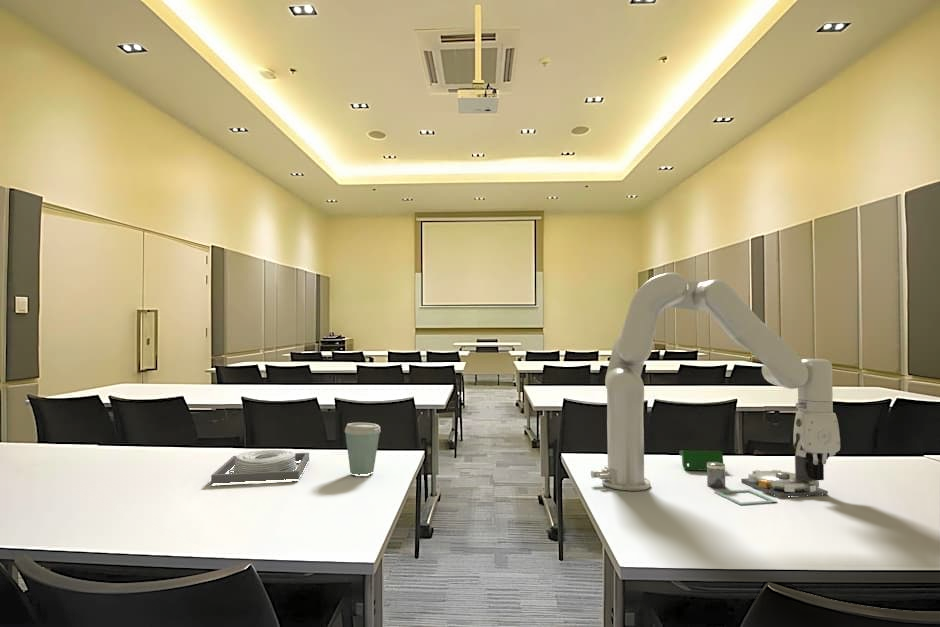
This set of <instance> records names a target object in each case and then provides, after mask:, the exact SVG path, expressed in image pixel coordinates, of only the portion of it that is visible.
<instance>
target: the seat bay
mask: <svg viewBox="0 0 940 627" xmlns="http://www.w3.org/2000/svg"><path fill="white" fill-rule="evenodd" d="M736 493H737V494H738V493H739V494H740V493H750V494H752V495H754V494H755V495H754V496H756V495H757V497H759V496H760V497H759V498H761V497H762V498H761V499H763V498H765V499H767V500H765V499H764V500H759V501H755V500H754V501H744V502H741V501H739V500H737V499H735V498H733V497H731V496H729V495H726V494H736ZM714 494H717V495H718V496H719V497H720V496H721V497H722V498H725V499H727V500H728V501H730V500H731V502H732V501H733V502H732V503H734V502H735V503H734V504H736V505H739V506H749V505H750V506H751V505H752V506H753V505H763V503H767V504H773V503H772V502H777V503H778V501H777V500H775V499H772V498H770V497H767V496H765V495H764V494H761V493H758V492H756V491H753V490H751V489H733V490H719V491H717V490H716V491H714ZM768 500H769V501H768Z"/></svg>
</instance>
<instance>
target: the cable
mask: <svg viewBox="0 0 940 627" xmlns="http://www.w3.org/2000/svg"><path fill="white" fill-rule="evenodd" d="M295 453H296V452H292V451H289V450H282V449H265V450H254V451H253V450H252V451H245V452H241V453H239V454H237V455H235V456H236V459H235V466H234V468H233V469H232V470H230V471H234V473H253V472H273V471H293V470H295V469H296V467H298V465H297V463H296V462H295ZM231 473H233V472H229V474H231Z"/></svg>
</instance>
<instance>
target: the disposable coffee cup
mask: <svg viewBox="0 0 940 627" xmlns="http://www.w3.org/2000/svg"><path fill="white" fill-rule="evenodd" d="M344 433H345V441H346V448H347V455H348V456H347V458H348V465H349V472H350V474H351V473H352V474H358V475H360V474H368V473H371V472H373V473H374V469H375V463H376V460H377V459H376V458H377V453H378V446H379V445H378V444H379V438H380V433H381V426H380V425H379V424H377V423H370V422H351V423H347V424H346V426H345V429H344Z"/></svg>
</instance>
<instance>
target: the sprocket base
mask: <svg viewBox="0 0 940 627" xmlns="http://www.w3.org/2000/svg"><path fill="white" fill-rule="evenodd" d="M741 483H742V484H744V485H746V486H749V487H751V486H752V488H754V489H756V488H757V489H756V490H758V489H759V491H761V490H762V491H761V492H763V491H764V492H763V493H765V492H767V493H766V494H768V493H770V494H772V495H771V496H773V495H775V496H777V497H788V496H790V498H792V497H791V496H805V497H810V496H809V495H820V496H823V495H822V494H828V495H829V491H828V490H826V489H823V488H821V487H816V491H812V492H809V491H795V492H786V491H784V490H780V489H774V488H764V487H761V486H759V484H758V483H757V482H750V481H749V479H748V477H747V478H741ZM770 494H769V495H770ZM807 495H808V496H807ZM775 496H774V497H775ZM777 497H776V498H777Z"/></svg>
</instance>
